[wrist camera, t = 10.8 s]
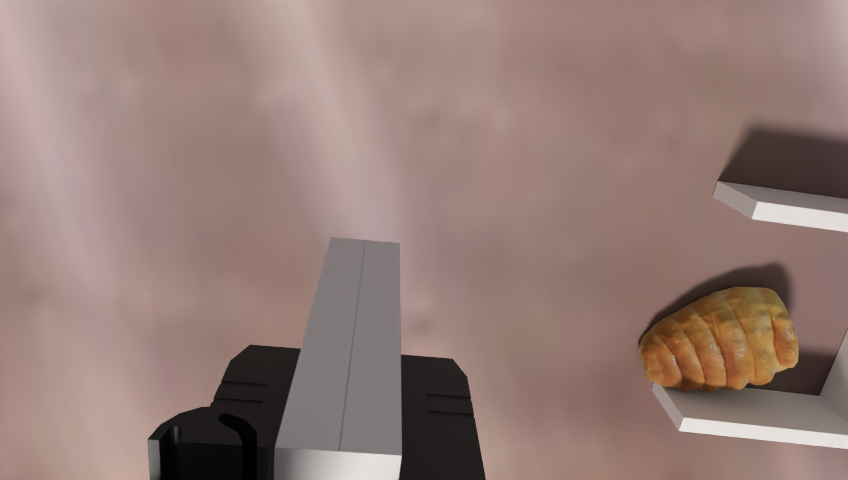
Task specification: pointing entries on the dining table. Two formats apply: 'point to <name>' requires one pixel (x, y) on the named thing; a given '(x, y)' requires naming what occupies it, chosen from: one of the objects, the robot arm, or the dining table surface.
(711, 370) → the pastry
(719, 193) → the box
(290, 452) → the robot arm
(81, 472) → the dining table surface
